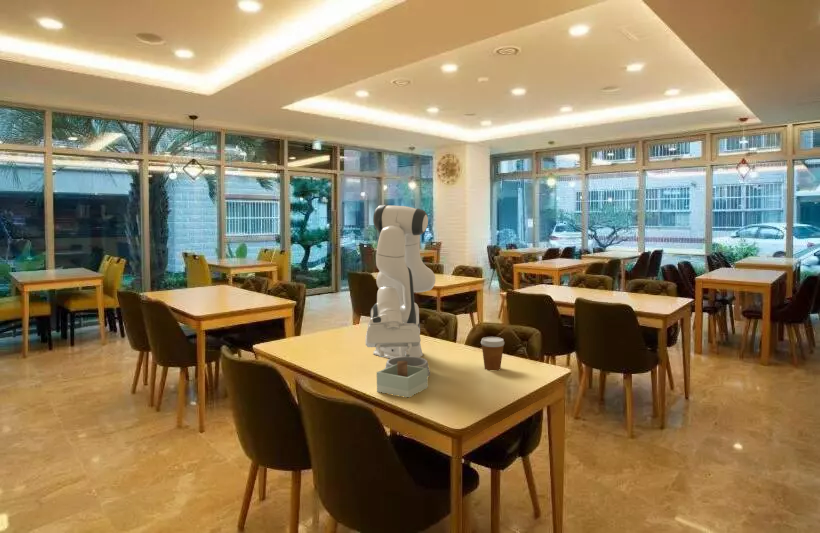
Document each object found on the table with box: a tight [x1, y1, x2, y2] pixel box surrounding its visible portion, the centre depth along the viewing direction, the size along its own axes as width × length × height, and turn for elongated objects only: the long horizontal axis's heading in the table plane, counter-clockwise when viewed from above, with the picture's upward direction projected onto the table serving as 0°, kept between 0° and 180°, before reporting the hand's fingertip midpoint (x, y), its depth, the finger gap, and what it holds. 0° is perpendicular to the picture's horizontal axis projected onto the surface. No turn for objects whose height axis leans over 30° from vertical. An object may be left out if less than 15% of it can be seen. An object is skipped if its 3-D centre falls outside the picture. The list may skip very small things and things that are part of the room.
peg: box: [397, 361, 408, 377], centre depth 186 cm, size 4×4×10 cm
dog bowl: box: [384, 356, 431, 377], centre depth 205 cm, size 17×18×5 cm
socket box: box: [376, 364, 429, 398], centre depth 186 cm, size 13×13×7 cm
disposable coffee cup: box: [480, 336, 506, 371], centre depth 210 cm, size 10×10×12 cm
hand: (394, 356), depth 189 cm, fingers open, 8 cm apart
